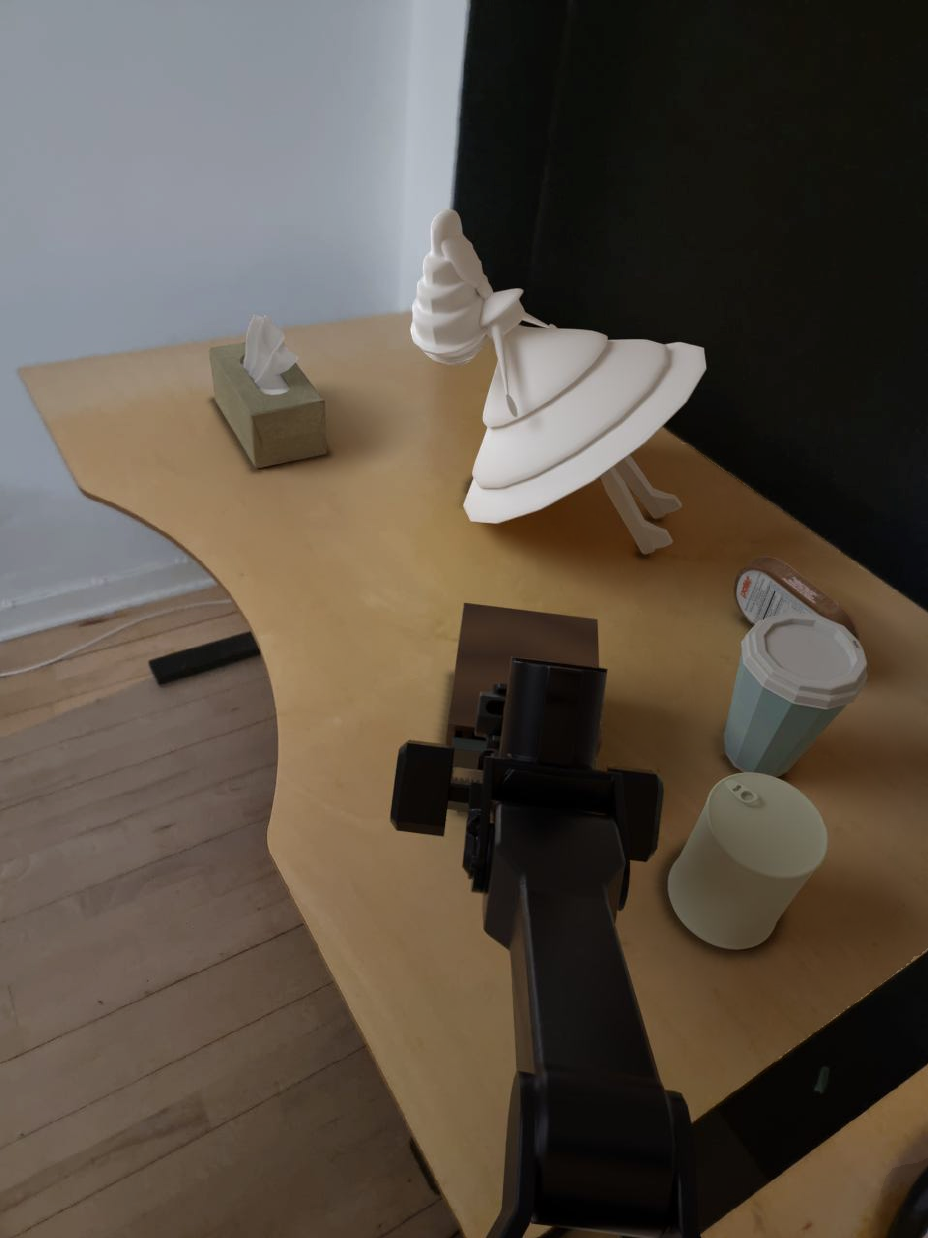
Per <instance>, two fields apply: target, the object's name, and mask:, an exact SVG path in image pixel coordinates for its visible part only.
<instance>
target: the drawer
mask: <svg viewBox="0 0 928 1238" xmlns="http://www.w3.org/2000/svg"><path fill="white" fill-rule="evenodd" d="M486 745H487V740H486V738H484V737H479V736H475V734H474V733H470V732H463V731H462V732H461V738H459V737H453V743H452V746H454V747H455V751H454V759H453V767H452V770H453V768H454V767H462V768H470V769H477V766H478V760H479V756H480V754H481V753H482V752H483V751H485V750H492V751H494V749H488V748H486ZM472 782H474V780H472ZM451 783H455V784H463V785H471V784H469V781H468V779H467V780H466V782H465V783H464V782H463V779H462V778H461V780H460V782H458V780H457V778H456V779H455V781H452V775H451ZM468 804H469V803H462V802H454V801H448V807H447V810H450V811H457V812H466V813H468Z"/></svg>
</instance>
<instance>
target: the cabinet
mask: <svg viewBox="0 0 928 1238" xmlns="http://www.w3.org/2000/svg"><path fill="white" fill-rule="evenodd" d="M599 649H600V647H599V619H598V618H591V617H582V616H575V615H567V614H559V613H557V614H556V613H550V612H542V611H537V610H536V611H534V610H527V609H519V608H511V607H503V606H494V605H487V604H479V603H471V602H463V605H462V613H461V620H460V628H459V635H458V642H457V650H456V658H455V664H454V665H455V666H454V673H453V680H452V686H451V695H450V702H449V708H448V709H449V710H448V716H447V723H446V733H445V742H444V744H446V745H450V746H452V743H453V737H459V738H461V732H462V731H463V732H470V733H475V724H476V715H477V707H478V699H479V693H480V692H481V691H484V692H491V691H492V690H493V684H494V683H497V684H499V683H503V684H508V677H509V668H510V660H511V657H522V658H531V659H540V660H548V661H556V662H564V663H572V664H579V665H586V666H593V667H600V650H599ZM602 739H603V738H602V726H601V727H600V735H599V743H598V751H597V757H598V756H599V753H600V751H601V750H600V749H601V746H602V742H603V741H602Z"/></svg>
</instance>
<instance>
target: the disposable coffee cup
mask: <svg viewBox="0 0 928 1238" xmlns="http://www.w3.org/2000/svg"><path fill="white" fill-rule="evenodd" d="M740 644H741V645H740V646H741V653H740V657H739V662H738V667H737V671H736V677H735V681H734V686H733V690H732V695H731V700H730V703H729V709H728V713H727V718H726V722H725V728H724V733H723V742H724V744H723V745H724V751H725V752H724V753H725V756H726V757H727V759H728V760H729V761H730V762H731V764H732V766H733V767H734V768H736V769H737V770H739V771H740V772H741V773H746V772H752V773H761V774H766V775H770V776H773V777H776V778H778V777H781V776H782V775H784V774H787V773H788V772H789V771H790V770H791V768H793V766H794V765H795V764H796V763H797V761H799V759H801V757H802V756H803V755H804V754H805V753H806V752H807V750H808V749H810V747H811V746H812V745H813V744H814V743H815V741H817V740H818V738H819V737H820V736H821V735H822V733H823V732H825V730H826V729H827V728H828V727H829V725H831V723H832V722H833V721H834V720H835V719H836V718H837V717H838V715H839V714H840V713H841V712H842V711H843V710H844V709H845V708H846V707H847V705H849V704H853V703H855V701H856V700H857V699H858V696H859V695H860V694H861V692H862V690H863V689H864V687H865V686H866V682H867V680H868V673H867V671H866V669H867V667H868V661H867V658H866V654H865V650H864V649H865V648H863V645H861V642H860V640H859V641H858V640H857V639H856V638H855V637H854V636H853V635H852V634H851V633H850V632H849V631H848V630H847V629H846V628H845V627H844V626H843V625H840V624H838V623H836V622H833V621H831V620H829V619H826V618H824V617H822V616H819V615H817V614H807V613H796V612H786V613H782V614H779V615H775V616H772V617H768V618H765V619H763V620H759V621H758V622H757V623H756V624H755V625H754V626H752V627H751V629H750V630H749V631H748V632H747V633H746V634H745V636H744V637H743V639H742V640H741V641H740Z"/></svg>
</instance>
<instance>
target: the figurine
mask: <svg viewBox="0 0 928 1238" xmlns="http://www.w3.org/2000/svg"><path fill="white" fill-rule="evenodd" d="M461 220H462V219H461V217H460V215H459V214H458V211H456V210H454V209H450V208H447V209H444V210H441V211H439V212H438V213H437V214H436V215H435V216H434V218H433V219H432V222H431V224H430V251H429V252H427V254H426V255H425V256H424V258H423V263H422V273H423V274H422V275H421V277H420V278H419V280H418V281H417V283H416V297H415V299H414V301H413V303H412V306H411V311H412V321H411V324H410V329H409V330H410V334H411V338H412V342H413V343H414V344H415V346H417V347H418V348H419V349H421V350H422V351H423V353H424V355H426V356H427V357H429V358H430V359H432V360H433V361H434V362H438V363H440V364H441V363H442V364H444V365H447V366H452V367H457V366H464V365H466V364H468V363H470V362H471V361H472V360H473V359H474V357H475V356H476V355H477V354H478V353H479V352H480V351H481V350H482V349H483V348H484V347H485V345H486V342H487V339H490V340H493V344H494V349H495V354H496V357H497V362H496V366H495V369H494V372H493V376H492V380H491V382H490V385H489V389H488V393H487V396H486V400H485V403H484V409H483V412H482V413H483V414H482V421H483V424H484V425H485V426H486V427H487V428H486V431H485V434H484V437H483V440H482V442H481V445H480V447H479V450H478V453H477V455H476V458H475V461H474V465H473V468H472V474H471V475H472V478H473V479H472V481H471V484H470V486H469V489H468V491H467V494H466V496H465V499H464V502H463V504H462V505H463V509H464V511H465V513H466V515H467V517H468V519H469V521H470V522H471V523H479V524H480V523H481V524H495V525H500V524H502V523H504V522H508V521H511V520H514V519H517V518H521V517H524V516H526V515H530V514H533V513H536V512H539V511H541V510H542V511H543V509H545V508H547V507H549V506H551V505H553V504H555V503H556V502H559V501H561V500H562V499H564V498H566V497H568V496H569V495H571V494H573V493H574V492H577V491H579V490H580V489H582V488H585V487H586V486H588V485H590V484H591V483H593V482H595V481H597V479H599V478H600V481H601V482H602V485H603V488H604V489H605V493H606V494H607V497H609V500H610V501H611V503H612V505H613V506H614V508H615V509H616V512H618V515H619V516H620V518H621V520H622V521H623V523H624V524H625V526H626V528H627V530H628V531H629V532H630V534H631V537H632V538H633V540H634V542H635V543H636V546H637V547H638V549H639V550H640V552H641V554H643V555H648V554H651V553H654V552H655V551H656V549H661V548H662V549H663V548H665V547H668V546H671V545H672V544H673V542H674V540H673V538H672V537H671V535H670V533H669V531H668V529H666V528H663V527H661V526H660V527H659V526H657V525H655V524H653V523H651V522H650V521H647V520H646V519H644V516H643V514H642V512H641V511H640V508H639V506H638V505H637V503H636V501H635V499H634V496H633V495H632V493H633V494H634V495H635V497H637V499H638V500H639V501H640V503H641V505H642V506H643V507H644V508H645V509H646V511H647V512H648V513H649V515H650V516H651V517H652V518H653V519H655V520H659V519H660V518H663V517H665V516H666V514H670V513H674V512H676V511H678V510H680V509H682V505H683V504H682V502H681V501H680V499H679V498H678V496H677V495H676V494H672V493H666V492H665V491H662V490H660V489H657V488H654V487H653V486H652V484H651V483H650V481H648V479H647V478H646V476H645V474H644V473H643V471H642V470H641V468H640V467H639V466H638V464H637V463H636V461H635V460H634V458H633V457H632V456H631V455H632V454H633V453H635V452H636V451H637V450H638V449H639V448H641V447H642V446H644V445H645V444H646V443H648V442H649V440H651V438H653V436H655V435H656V433H657V432H659V431H660V430H661V428H663V426H664V425H665V424H666V423H668V421H670V419H672V417H674V416H675V414H677V412H679V410H681V408H682V407H684V406H685V404H686V403H688V401H689V399H690V398H691V396H692V394H693V393H694V391H695V389H696V388H697V386H698V384H699V383H700V380H701V379H702V377H703V375H704V374H705V372H706V371H707V362H706V355H705V347H702V346H699V345H695V344H690V343H686V342H683V341H682V342H681V341H678V342H677V341H675V342H670V343H665V344H663V343H660V342H656V341H653V340H649V339H639V338H637V339H635V338H634V339H633V338H632V339H631V338H629V339H609V338H608V337H609V336H608V335H606V334H604V333H601V332H599V331H595V330H591V329H590V330H589V329H580V328H578V329H577V328H559V327H557V326H556V325H554V324H552V323H550V324H549V325H548V324H547V323H545V322H543V321H542V320H539V319H538V318H536V317H534V316H533V315H531V314H529V313H527V312H526V311H525V308H524V306H523V305H522V303H521V301H520V298H521V296H522V295H523V294H524V289H522V288H519V287H518V288H509V289H505V290H499V291H493V288H492V286H491V284H490V283H489V279H488V276H487V275H485V274H484V270H483V264H482V261H481V259H479V256H478V254H477V252H476V251H475V249H474V246H473V245H474V244H472V242H471V241H470V240H469V239H468V238H467V237H466V236H465V235H464V233H463V225H462V221H461ZM522 321H523V322H527V323H530V324H533V325H536V326H539V327H532V326H524V325H519V324H520V323H521V322H522ZM630 490H631V491H632V493H631V491H630Z"/></svg>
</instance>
